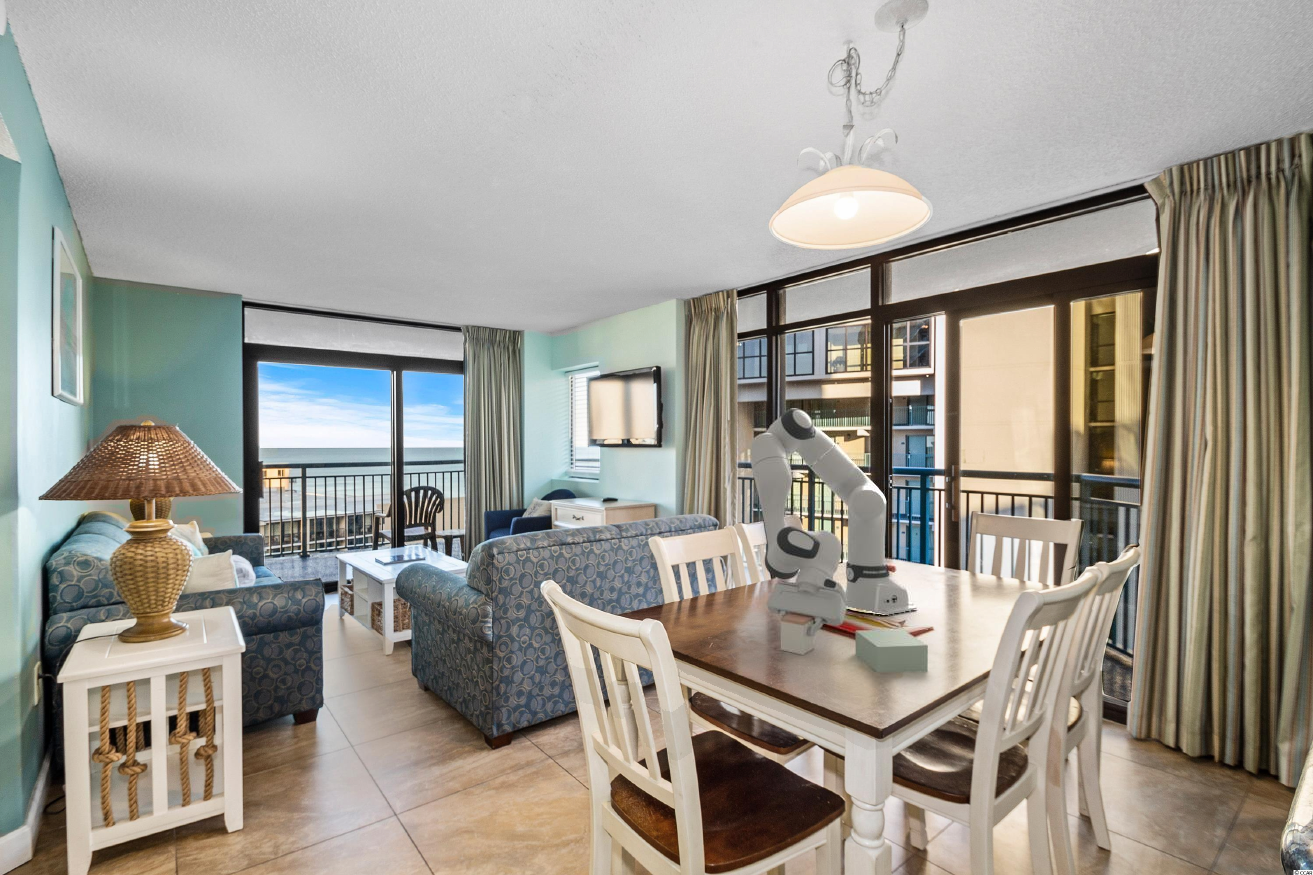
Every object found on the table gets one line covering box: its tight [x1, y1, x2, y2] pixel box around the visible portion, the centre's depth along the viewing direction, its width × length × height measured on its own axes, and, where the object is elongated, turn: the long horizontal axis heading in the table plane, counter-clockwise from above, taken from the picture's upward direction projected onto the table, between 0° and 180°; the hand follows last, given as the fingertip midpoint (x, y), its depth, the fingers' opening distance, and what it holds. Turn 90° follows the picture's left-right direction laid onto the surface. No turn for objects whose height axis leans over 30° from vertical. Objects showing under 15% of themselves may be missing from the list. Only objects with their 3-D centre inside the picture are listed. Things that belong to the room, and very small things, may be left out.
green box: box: [854, 628, 929, 674], centre depth 148 cm, size 12×12×6 cm
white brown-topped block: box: [780, 613, 814, 656], centre depth 156 cm, size 6×6×8 cm
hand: (796, 632), depth 156 cm, fingers closed on white brown-topped block, 6 cm apart
